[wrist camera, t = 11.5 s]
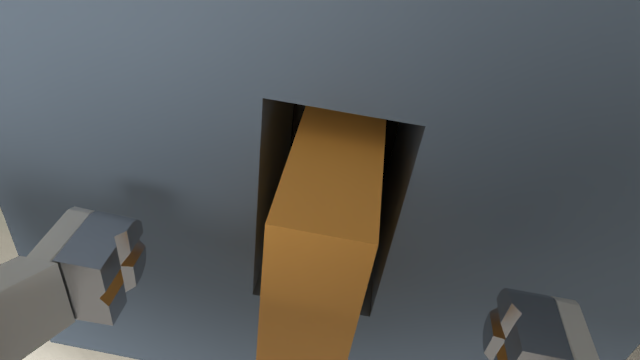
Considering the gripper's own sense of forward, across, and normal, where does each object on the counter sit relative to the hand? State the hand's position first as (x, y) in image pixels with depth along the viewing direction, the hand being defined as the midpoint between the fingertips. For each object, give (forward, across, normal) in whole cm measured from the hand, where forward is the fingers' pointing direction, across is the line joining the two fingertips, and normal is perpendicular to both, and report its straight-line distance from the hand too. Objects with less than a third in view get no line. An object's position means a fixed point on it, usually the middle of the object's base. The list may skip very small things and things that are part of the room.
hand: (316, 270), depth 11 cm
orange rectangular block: (+7, 0, 0) cm, 7 cm away
